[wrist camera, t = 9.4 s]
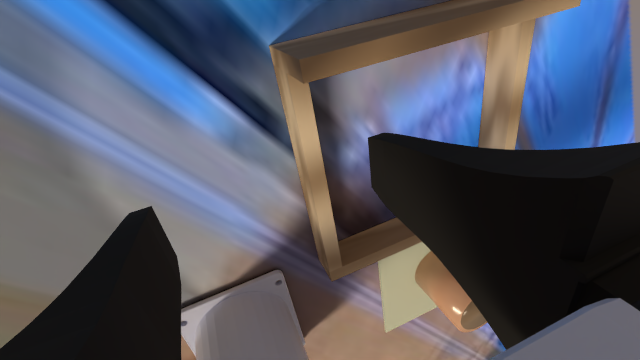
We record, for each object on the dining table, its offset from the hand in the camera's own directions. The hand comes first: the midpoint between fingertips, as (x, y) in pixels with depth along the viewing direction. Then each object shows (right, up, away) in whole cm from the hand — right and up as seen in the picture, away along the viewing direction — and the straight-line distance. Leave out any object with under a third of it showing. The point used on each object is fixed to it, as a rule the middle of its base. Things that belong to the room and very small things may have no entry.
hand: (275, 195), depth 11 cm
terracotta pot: (+13, -8, +21) cm, 26 cm away
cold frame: (+7, +4, +13) cm, 15 cm away
